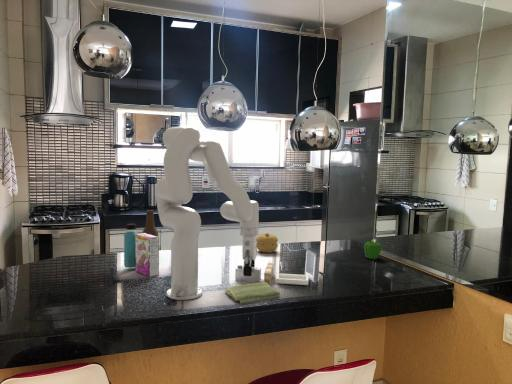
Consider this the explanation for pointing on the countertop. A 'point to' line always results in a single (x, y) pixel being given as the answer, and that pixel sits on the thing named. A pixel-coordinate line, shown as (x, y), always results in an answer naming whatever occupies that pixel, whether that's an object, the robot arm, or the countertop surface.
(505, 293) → the countertop surface
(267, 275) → the rail
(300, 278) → the bracket
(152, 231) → the beer bottle
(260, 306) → the countertop surface
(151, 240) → the candy bar box
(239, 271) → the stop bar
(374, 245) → the bell pepper
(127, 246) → the beverage bottle
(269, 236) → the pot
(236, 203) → the robot arm
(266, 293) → the washcloth
